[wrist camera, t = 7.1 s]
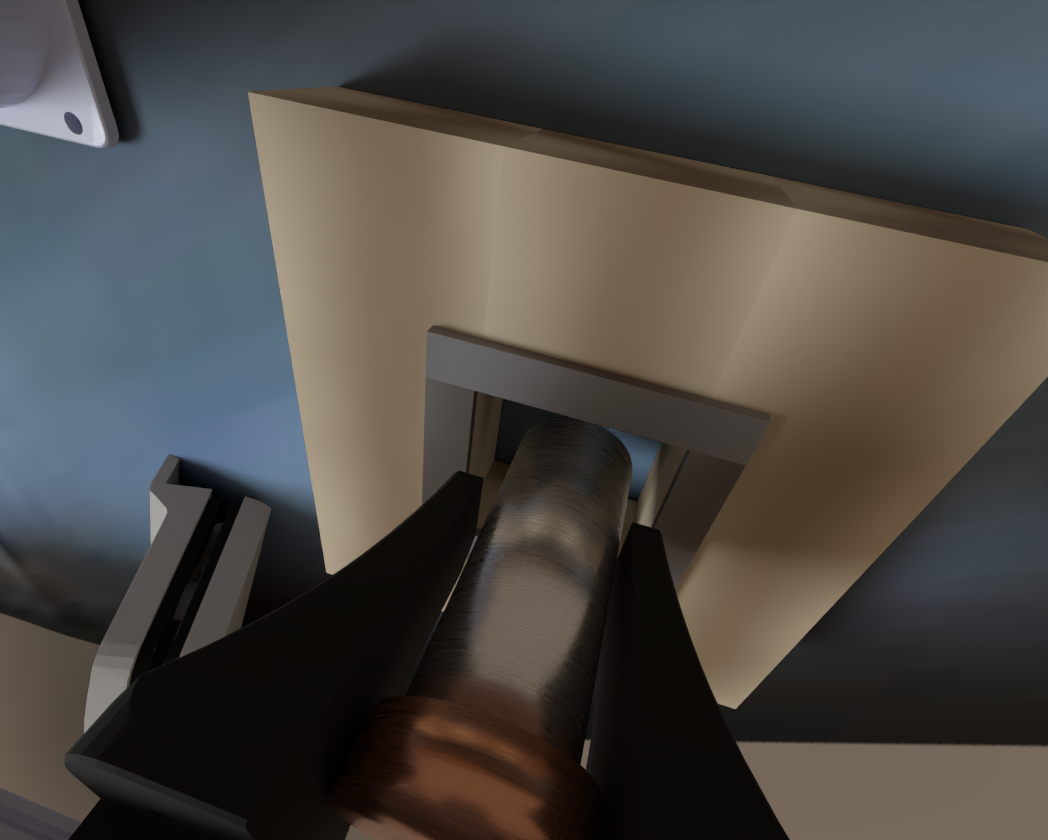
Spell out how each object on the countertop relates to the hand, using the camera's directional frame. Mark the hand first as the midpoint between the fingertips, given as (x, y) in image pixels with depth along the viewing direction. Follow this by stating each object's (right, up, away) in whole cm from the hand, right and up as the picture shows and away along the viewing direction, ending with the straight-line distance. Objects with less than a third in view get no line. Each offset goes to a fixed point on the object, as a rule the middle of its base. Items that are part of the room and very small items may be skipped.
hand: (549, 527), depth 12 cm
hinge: (-17, -6, +16) cm, 23 cm away
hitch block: (+1, +2, +3) cm, 4 cm away
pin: (+1, +1, +1) cm, 2 cm away
